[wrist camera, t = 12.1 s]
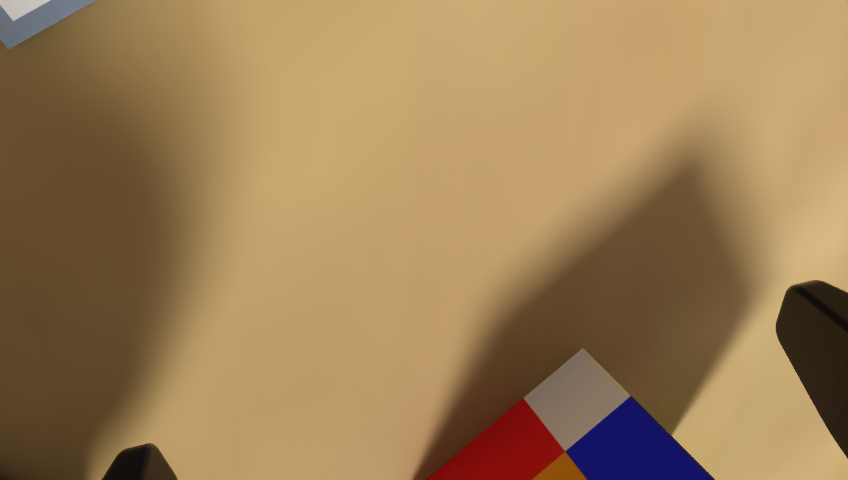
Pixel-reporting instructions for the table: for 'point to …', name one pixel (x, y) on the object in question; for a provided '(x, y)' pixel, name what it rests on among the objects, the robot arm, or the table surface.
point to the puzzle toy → (574, 435)
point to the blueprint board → (33, 17)
